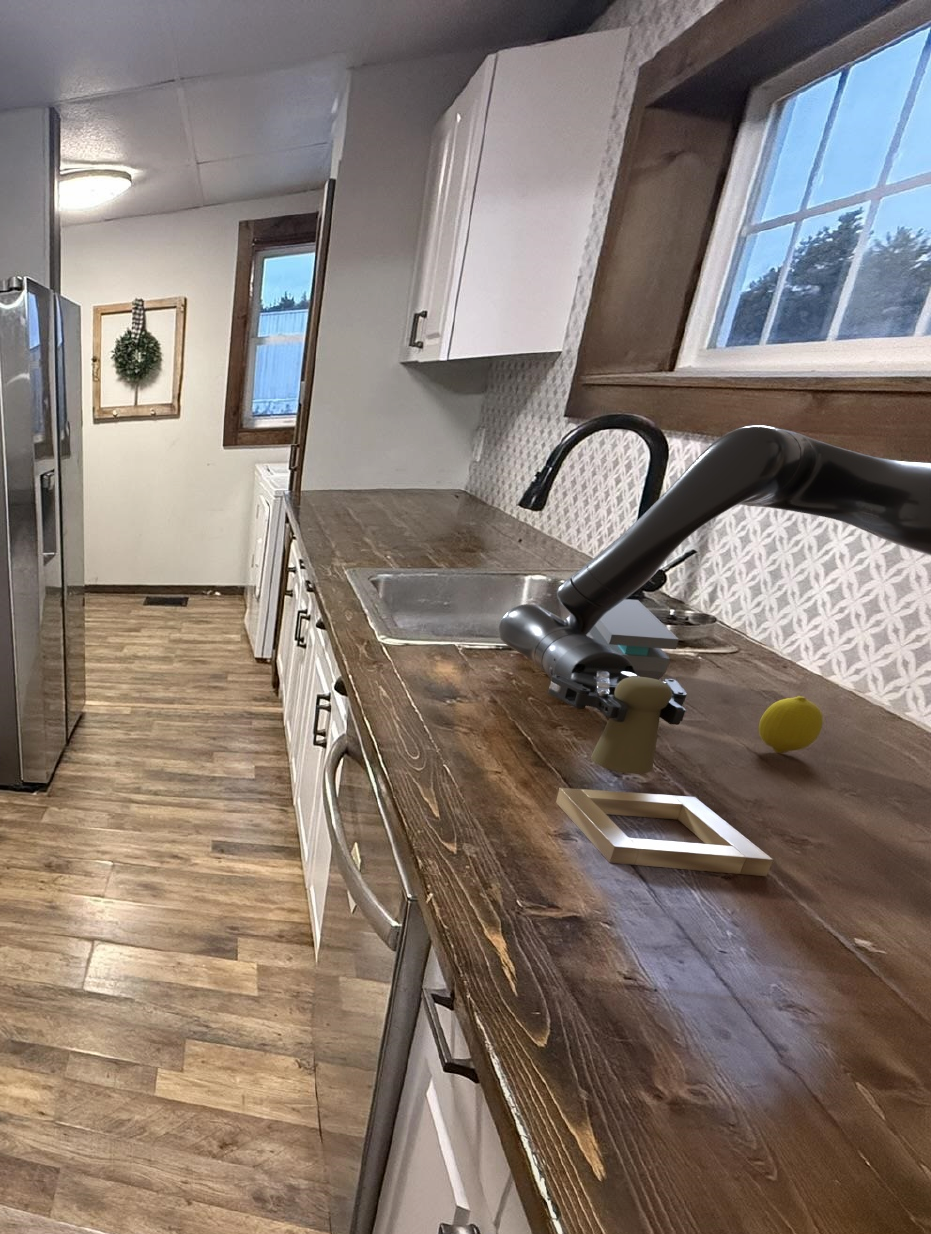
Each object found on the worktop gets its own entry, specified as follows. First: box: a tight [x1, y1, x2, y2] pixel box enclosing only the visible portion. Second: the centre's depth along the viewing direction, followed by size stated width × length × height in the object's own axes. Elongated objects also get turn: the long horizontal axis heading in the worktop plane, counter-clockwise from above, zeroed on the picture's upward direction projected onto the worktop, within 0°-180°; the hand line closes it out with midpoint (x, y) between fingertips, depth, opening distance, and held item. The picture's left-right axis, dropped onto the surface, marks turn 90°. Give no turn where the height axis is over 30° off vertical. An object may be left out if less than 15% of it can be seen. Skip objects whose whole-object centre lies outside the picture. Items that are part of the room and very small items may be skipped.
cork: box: [590, 677, 672, 775], centre depth 94 cm, size 6×6×11 cm
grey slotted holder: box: [587, 598, 680, 680], centre depth 126 cm, size 25×8×11 cm, turn 152°
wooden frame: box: [555, 787, 774, 877], centre depth 84 cm, size 13×13×2 cm
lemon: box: [758, 695, 824, 754], centre depth 100 cm, size 6×6×8 cm
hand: (650, 715), depth 91 cm, fingers closed on cork, 5 cm apart
